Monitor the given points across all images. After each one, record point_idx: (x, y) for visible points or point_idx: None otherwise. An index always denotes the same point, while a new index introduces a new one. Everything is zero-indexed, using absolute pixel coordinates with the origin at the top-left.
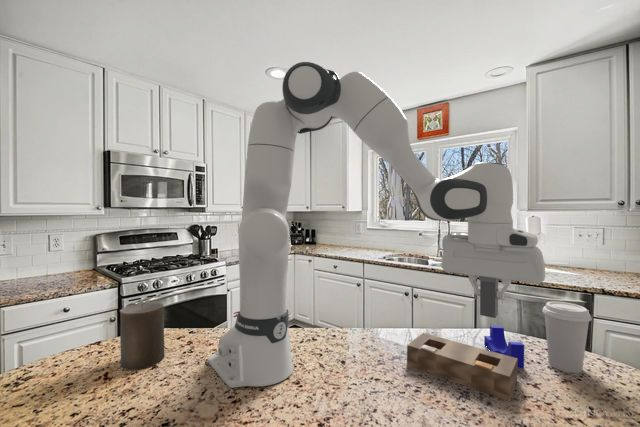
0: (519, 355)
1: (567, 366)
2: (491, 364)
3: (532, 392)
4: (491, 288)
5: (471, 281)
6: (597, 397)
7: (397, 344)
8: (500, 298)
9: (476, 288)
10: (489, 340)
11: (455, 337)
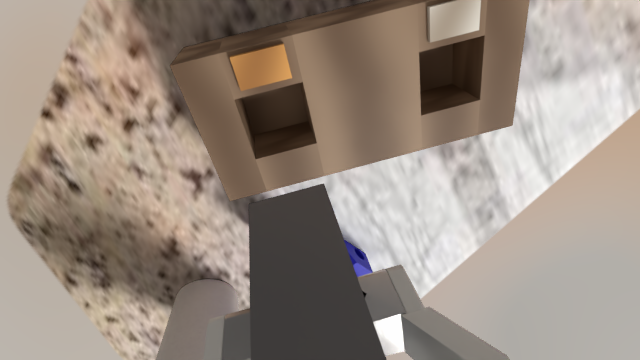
0: None
1: (188, 292)
2: (280, 140)
3: (179, 143)
4: (282, 355)
5: (471, 347)
6: (97, 238)
7: (552, 73)
8: (226, 315)
9: (403, 309)
10: (353, 262)
11: (433, 236)
